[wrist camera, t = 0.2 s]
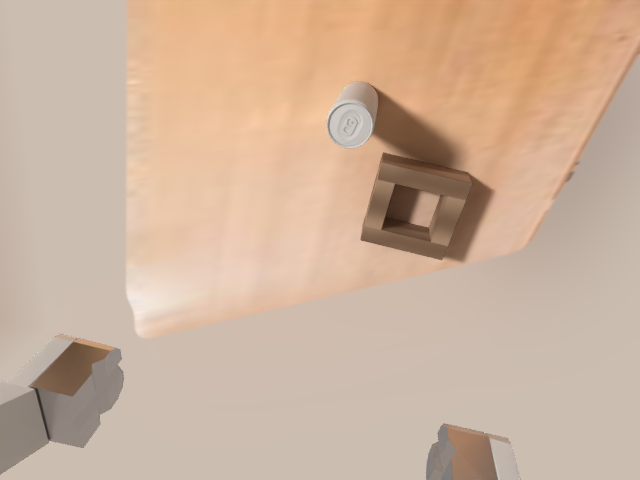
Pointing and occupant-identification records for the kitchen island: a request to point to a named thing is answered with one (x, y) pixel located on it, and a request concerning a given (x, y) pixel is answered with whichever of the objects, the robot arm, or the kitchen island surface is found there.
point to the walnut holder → (420, 177)
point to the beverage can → (353, 115)
